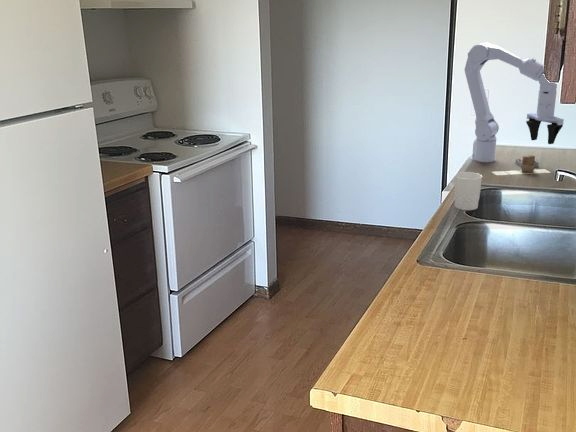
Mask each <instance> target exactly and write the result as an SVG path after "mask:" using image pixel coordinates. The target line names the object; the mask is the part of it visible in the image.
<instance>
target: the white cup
mask: <svg viewBox="0 0 576 432" xmlns="http://www.w3.org/2000/svg"><path fill="white" fill-rule="evenodd" d="M482 182H483V175H482V174H481V173H478V172H472V171H462V172H461V171H460V172H456V173H455V174H454V207H455V208H456V209H458V210H461V211H474V210H477V209H478V207H479V200H480V195H481V189H482V188H481V187H482Z"/></svg>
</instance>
